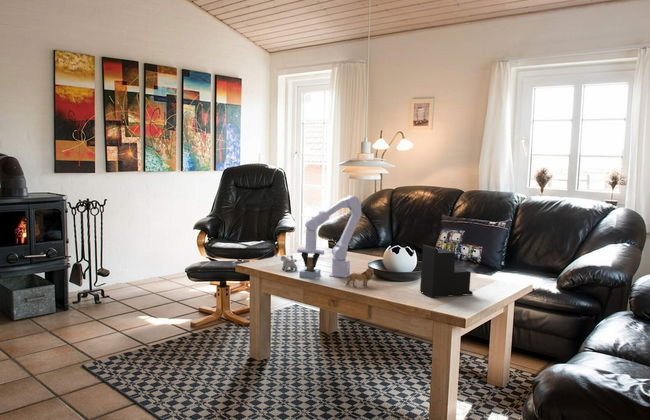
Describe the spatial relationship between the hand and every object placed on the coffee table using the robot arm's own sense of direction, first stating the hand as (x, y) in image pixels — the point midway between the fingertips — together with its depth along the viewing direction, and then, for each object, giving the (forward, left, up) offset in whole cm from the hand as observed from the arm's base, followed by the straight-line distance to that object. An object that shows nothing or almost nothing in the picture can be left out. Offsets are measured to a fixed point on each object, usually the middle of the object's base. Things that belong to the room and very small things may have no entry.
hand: (310, 266), depth 283 cm
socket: (0, 0, -5) cm, 5 cm away
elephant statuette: (+17, -11, -5) cm, 21 cm away
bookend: (-72, +11, -5) cm, 73 cm away
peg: (0, 0, -3) cm, 3 cm away
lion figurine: (-29, +12, -5) cm, 32 cm away
